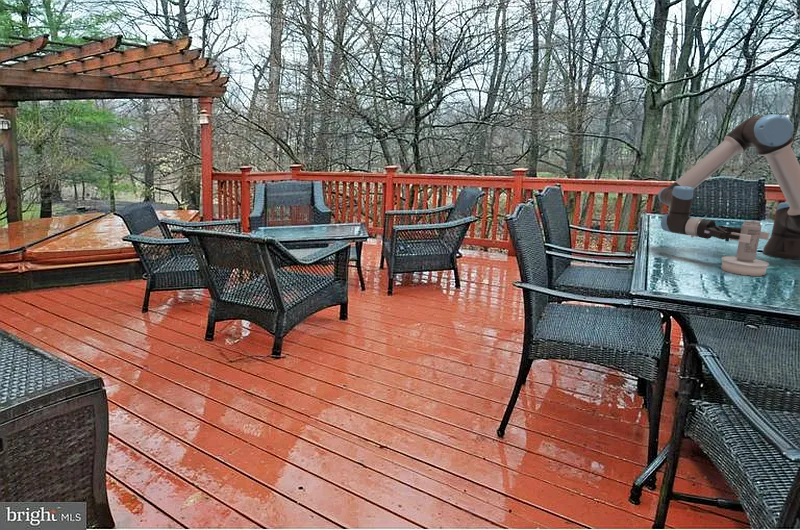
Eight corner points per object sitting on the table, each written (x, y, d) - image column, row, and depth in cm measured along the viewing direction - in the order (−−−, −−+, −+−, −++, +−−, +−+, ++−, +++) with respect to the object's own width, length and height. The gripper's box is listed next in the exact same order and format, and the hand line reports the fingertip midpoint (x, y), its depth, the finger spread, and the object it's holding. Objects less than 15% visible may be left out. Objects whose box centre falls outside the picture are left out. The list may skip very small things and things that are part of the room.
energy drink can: (748, 259, 193) (756, 220, 189) (758, 262, 187) (766, 222, 183) (732, 258, 193) (739, 219, 189) (741, 262, 187) (748, 222, 183)
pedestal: (752, 267, 197) (754, 257, 196) (776, 277, 183) (778, 266, 182) (712, 265, 199) (714, 255, 198) (732, 275, 184) (734, 264, 183)
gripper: (716, 234, 209) (773, 244, 192) (681, 239, 197) (739, 250, 179) (719, 216, 207) (777, 225, 190) (684, 220, 195) (744, 230, 177)
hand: (759, 237), depth 184 cm, fingers open, 13 cm apart
